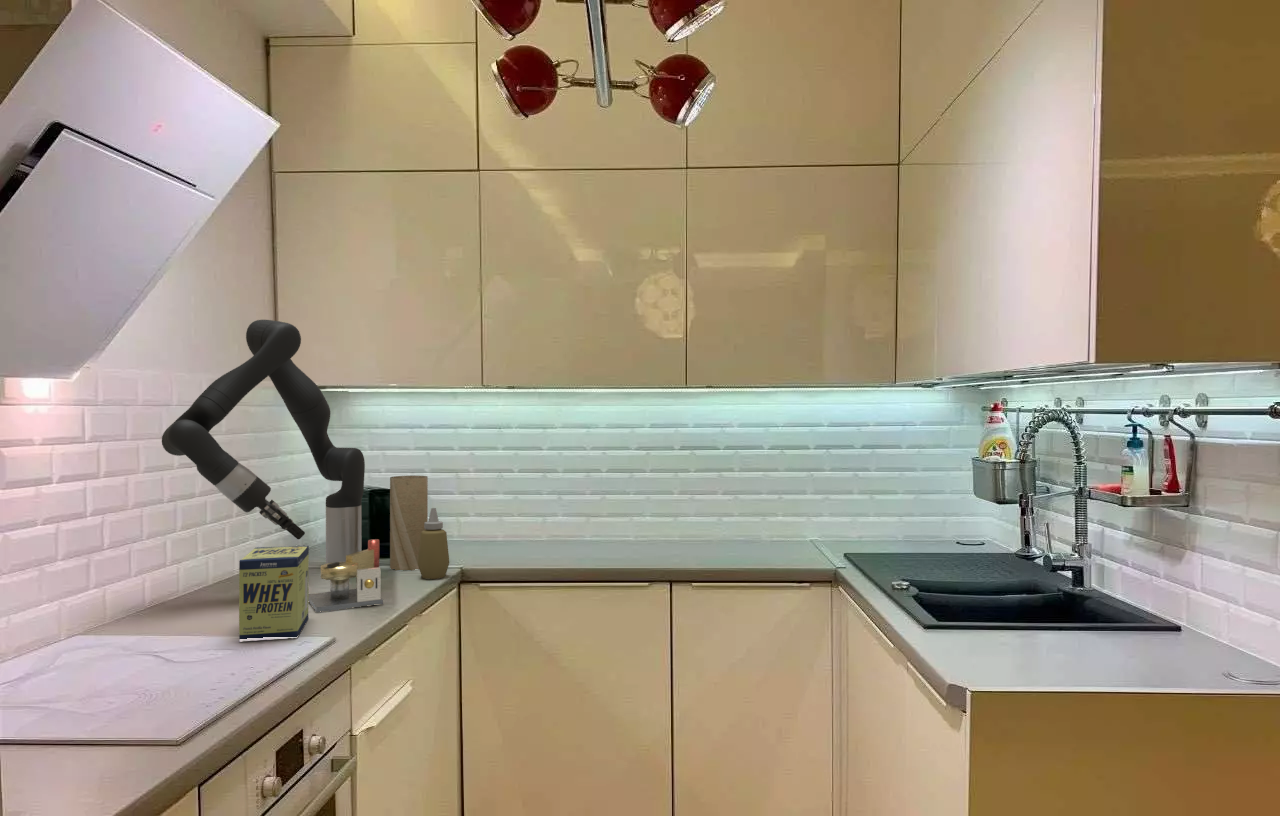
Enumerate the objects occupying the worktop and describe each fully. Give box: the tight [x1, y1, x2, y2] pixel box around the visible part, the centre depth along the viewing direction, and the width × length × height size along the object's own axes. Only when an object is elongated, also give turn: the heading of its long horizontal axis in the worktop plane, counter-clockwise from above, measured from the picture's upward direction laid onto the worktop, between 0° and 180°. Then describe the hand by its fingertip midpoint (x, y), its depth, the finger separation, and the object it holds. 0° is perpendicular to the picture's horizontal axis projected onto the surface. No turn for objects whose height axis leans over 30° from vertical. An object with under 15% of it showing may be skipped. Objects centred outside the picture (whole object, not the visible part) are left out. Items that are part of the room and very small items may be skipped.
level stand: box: [308, 566, 384, 613], centre depth 180 cm, size 15×14×8 cm
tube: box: [389, 475, 429, 571], centre depth 220 cm, size 10×10×25 cm
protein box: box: [238, 545, 310, 639], centre depth 158 cm, size 10×16×16 cm
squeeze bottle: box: [418, 507, 450, 580], centre depth 207 cm, size 8×8×18 cm
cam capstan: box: [320, 538, 380, 581], centre depth 185 cm, size 19×8×6 cm, turn 166°
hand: (301, 536), depth 186 cm, fingers closed
